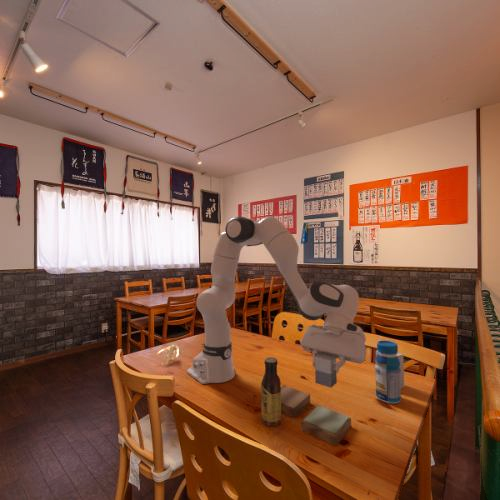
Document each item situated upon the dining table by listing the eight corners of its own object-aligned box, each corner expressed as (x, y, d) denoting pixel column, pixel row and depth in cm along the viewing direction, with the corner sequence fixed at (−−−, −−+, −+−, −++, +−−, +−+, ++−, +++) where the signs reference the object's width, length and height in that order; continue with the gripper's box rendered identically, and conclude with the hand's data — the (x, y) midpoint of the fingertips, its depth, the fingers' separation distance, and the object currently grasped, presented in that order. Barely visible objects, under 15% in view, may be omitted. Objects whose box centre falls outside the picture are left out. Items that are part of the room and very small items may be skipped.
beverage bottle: (400, 407, 94) (399, 348, 94) (373, 400, 99) (372, 344, 99) (402, 396, 101) (401, 341, 101) (377, 390, 106) (376, 338, 106)
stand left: (266, 405, 96) (266, 397, 96) (284, 393, 105) (284, 385, 105) (294, 417, 89) (293, 408, 89) (310, 403, 98) (310, 394, 98)
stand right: (301, 429, 83) (301, 419, 83) (318, 413, 91) (317, 404, 91) (336, 446, 76) (336, 435, 76) (351, 426, 84) (351, 416, 84)
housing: (315, 382, 84) (314, 356, 84) (321, 378, 87) (320, 352, 87) (331, 387, 81) (330, 360, 81) (336, 382, 84) (336, 356, 84)
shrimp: (154, 370, 133) (150, 355, 130) (169, 349, 146) (165, 335, 143) (176, 372, 130) (172, 357, 127) (189, 350, 144) (186, 336, 141)
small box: (404, 387, 107) (404, 354, 108) (393, 391, 105) (393, 357, 105) (386, 379, 115) (385, 348, 115) (375, 382, 112) (375, 350, 112)
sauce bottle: (260, 416, 90) (259, 355, 90) (279, 415, 91) (278, 354, 91) (263, 428, 84) (262, 363, 84) (283, 427, 84) (282, 362, 84)
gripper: (305, 319, 96) (291, 355, 88) (366, 328, 83) (355, 372, 75) (311, 329, 99) (298, 364, 92) (371, 339, 86) (361, 382, 78)
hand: (324, 368), depth 83 cm, fingers closed on housing, 5 cm apart
